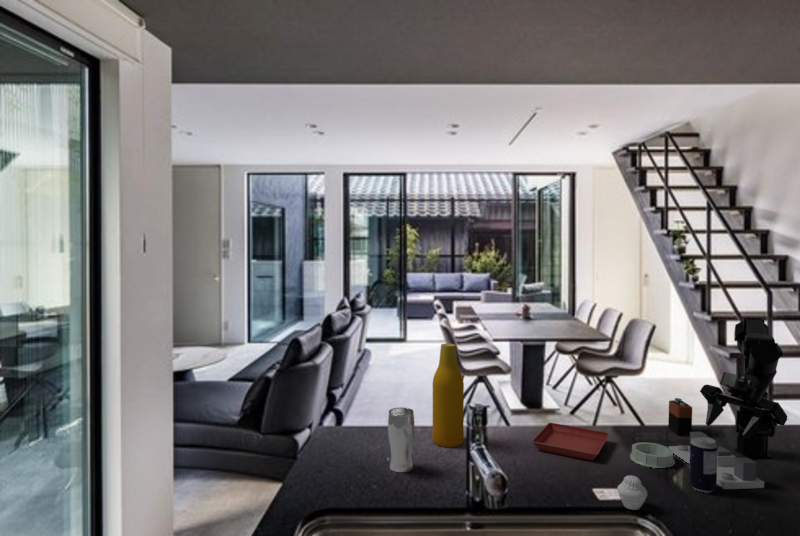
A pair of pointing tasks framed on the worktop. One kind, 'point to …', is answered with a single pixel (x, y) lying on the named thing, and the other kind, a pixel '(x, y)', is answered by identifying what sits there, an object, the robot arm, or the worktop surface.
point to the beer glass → (401, 438)
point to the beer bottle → (448, 400)
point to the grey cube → (723, 452)
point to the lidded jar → (632, 492)
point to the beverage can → (703, 464)
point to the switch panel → (727, 468)
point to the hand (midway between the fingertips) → (724, 430)
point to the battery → (680, 417)
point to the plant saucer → (570, 441)
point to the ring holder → (652, 455)
